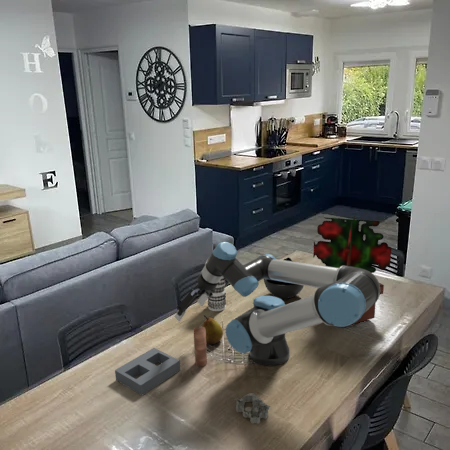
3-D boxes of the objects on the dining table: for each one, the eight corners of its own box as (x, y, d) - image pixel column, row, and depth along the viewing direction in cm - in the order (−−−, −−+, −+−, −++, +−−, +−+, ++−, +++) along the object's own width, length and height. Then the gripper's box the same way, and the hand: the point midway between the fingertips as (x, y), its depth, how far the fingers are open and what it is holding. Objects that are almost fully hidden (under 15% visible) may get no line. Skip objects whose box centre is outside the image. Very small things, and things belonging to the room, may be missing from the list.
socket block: (180, 370, 166) (179, 360, 165) (141, 395, 152) (140, 385, 151) (154, 356, 174) (153, 347, 173) (115, 379, 161) (114, 370, 160)
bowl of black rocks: (311, 293, 224) (312, 257, 219) (294, 309, 208) (295, 271, 203) (274, 284, 235) (275, 250, 229) (256, 300, 219) (255, 263, 213)
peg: (209, 362, 170) (208, 328, 166) (201, 367, 167) (199, 333, 163) (200, 358, 173) (199, 325, 169) (192, 363, 169) (190, 330, 165)
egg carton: (232, 409, 145) (231, 398, 144) (250, 399, 150) (250, 388, 148) (253, 427, 137) (253, 416, 136) (272, 416, 141) (272, 405, 140)
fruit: (226, 337, 186) (225, 311, 183) (216, 349, 179) (215, 321, 175) (207, 333, 190) (206, 307, 187) (197, 344, 182) (195, 317, 179)
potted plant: (343, 335, 185) (348, 230, 172) (311, 313, 204) (314, 216, 192) (385, 323, 193) (393, 222, 181) (351, 302, 213) (356, 209, 200)
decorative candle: (229, 303, 216) (228, 254, 208) (223, 312, 207) (221, 261, 200) (211, 301, 219) (209, 252, 211) (204, 310, 210) (202, 259, 203)
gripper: (223, 257, 175) (202, 291, 188) (180, 282, 156) (160, 318, 169) (237, 270, 173) (215, 304, 185) (195, 297, 154) (173, 332, 166)
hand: (189, 311), depth 177 cm, fingers open, 13 cm apart
